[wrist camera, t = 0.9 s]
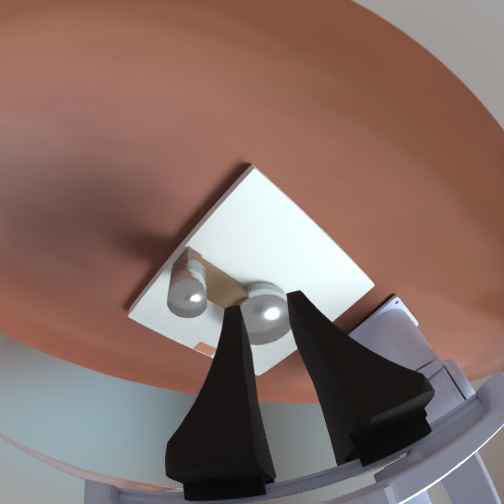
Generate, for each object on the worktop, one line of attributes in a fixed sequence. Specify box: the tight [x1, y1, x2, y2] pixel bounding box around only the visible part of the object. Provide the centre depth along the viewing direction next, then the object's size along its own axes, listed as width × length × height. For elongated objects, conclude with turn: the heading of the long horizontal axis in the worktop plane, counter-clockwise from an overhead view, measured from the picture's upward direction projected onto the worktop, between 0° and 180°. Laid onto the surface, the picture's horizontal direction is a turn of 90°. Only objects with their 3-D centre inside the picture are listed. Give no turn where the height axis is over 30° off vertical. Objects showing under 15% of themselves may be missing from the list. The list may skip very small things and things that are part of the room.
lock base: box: [128, 164, 374, 376], centre depth 23 cm, size 16×16×1 cm
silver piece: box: [167, 249, 291, 345], centre depth 19 cm, size 11×5×4 cm, turn 46°
